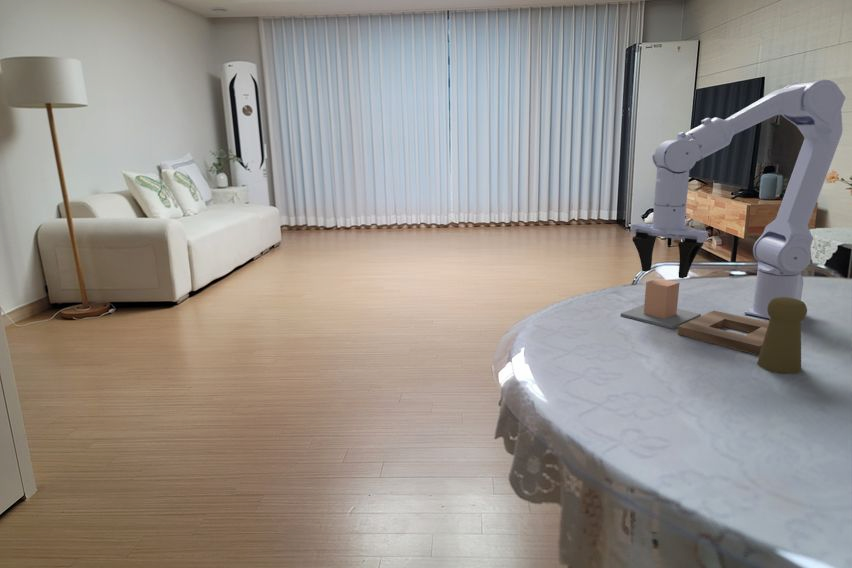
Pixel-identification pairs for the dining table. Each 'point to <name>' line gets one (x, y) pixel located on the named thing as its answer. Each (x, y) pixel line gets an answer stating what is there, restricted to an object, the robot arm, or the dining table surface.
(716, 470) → the dining table surface
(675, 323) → the mat
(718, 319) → the holder
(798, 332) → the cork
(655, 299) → the block
